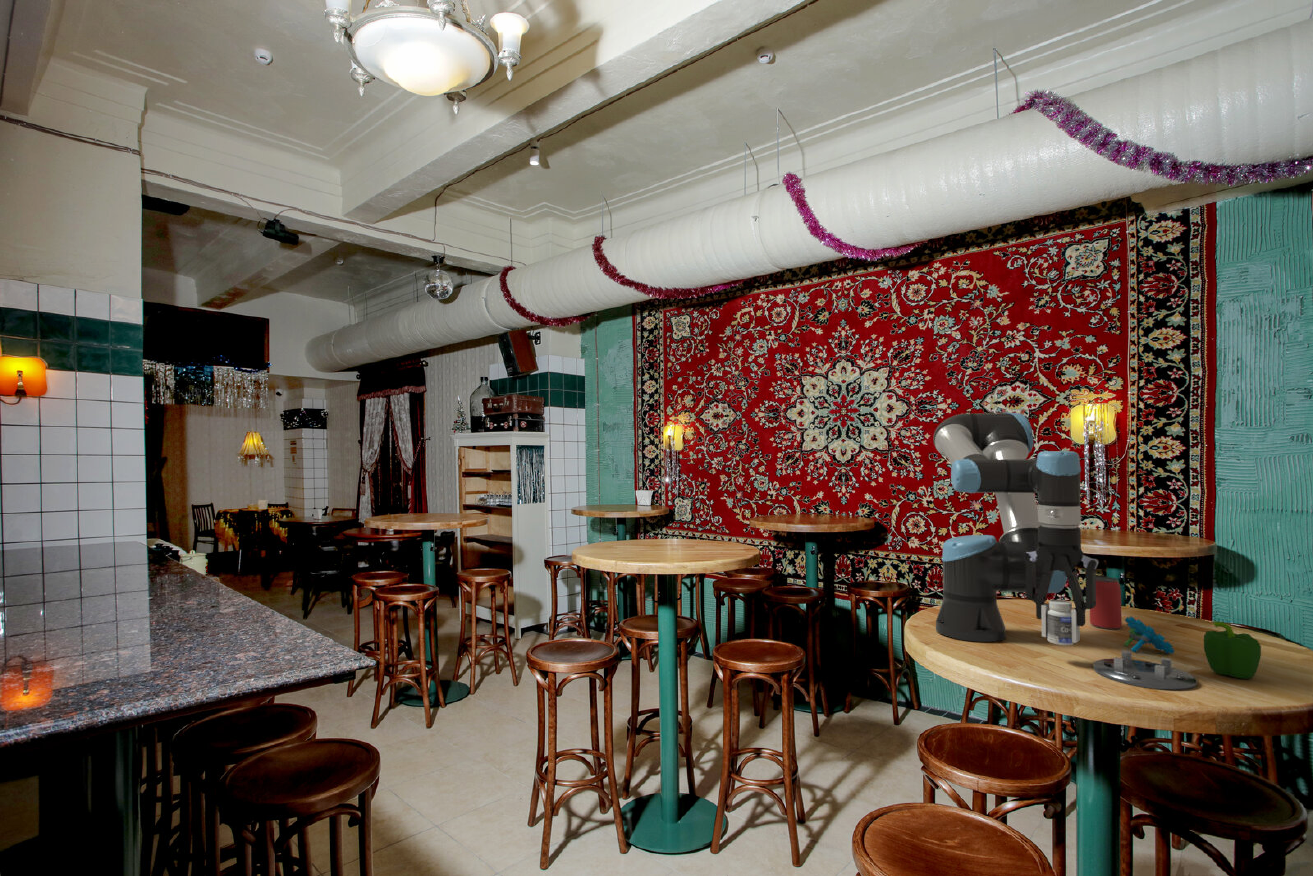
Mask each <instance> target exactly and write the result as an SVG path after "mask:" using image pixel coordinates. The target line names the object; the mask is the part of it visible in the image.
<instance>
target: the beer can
mask: <svg viewBox="0 0 1313 876" xmlns="http://www.w3.org/2000/svg"><path fill="white" fill-rule="evenodd" d="M1122 623H1123V622H1122V588H1121V585H1120V583H1119V579H1118V578H1115V577H1111V576H1110V577H1109V576H1101V575H1100V576H1099V575H1098V576H1096V606H1095V607H1094V608H1092V609H1089V624H1091V626H1092V627H1096V628H1100V629H1104V630H1119V629H1121V628H1122V627H1123V626H1122Z"/></svg>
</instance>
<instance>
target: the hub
mask: <svg viewBox="0 0 1313 876" xmlns="http://www.w3.org/2000/svg"><path fill="white" fill-rule="evenodd" d="M1120 654H1121V657H1117V656H1116V657H1114V658H1102V659H1099V660H1095V661H1094V662H1093V667H1092V668H1093V670H1094V672H1095V673H1097V674H1098V675H1100V676H1101V677H1104V678H1106V679H1108V680H1112V681H1115V682H1118V683H1122V684H1124V685H1129V686H1135V687H1139V688H1144V689H1145V688H1146V689H1151V690H1152V689H1153V690H1161V691H1162V690H1163V691H1187V690H1191V689H1194V688H1196V687H1197V684H1198V683H1197V677H1195V676H1194V675H1193V674H1191V673H1189V672H1186V671H1184V670H1182V669H1178V668H1177V667H1174V666H1173V665H1172V663H1173V662H1172V660H1173V659H1172V658H1167V657H1161V658H1160V659H1161V660H1160V661H1161V662H1160V663H1157V662H1151V661H1145V660H1137V659H1132V651H1128V650H1121V653H1120Z"/></svg>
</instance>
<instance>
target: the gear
mask: <svg viewBox="0 0 1313 876" xmlns="http://www.w3.org/2000/svg"><path fill="white" fill-rule="evenodd" d="M1124 621H1125V623H1126V624H1127V627H1129V628H1130V629H1129V630H1128V633H1130V634H1129V635H1128V637H1129V638H1128V639H1127V640H1126V641H1125V642H1124V643H1123V644H1122V645H1123V646H1124V647H1126V648H1127V647H1129V645H1130V644H1131V643H1132V642H1133V641H1135V642H1137V643H1135V644H1134V645H1133V646H1132V647H1131V648H1130V650H1131V652H1133V653H1137V652H1138V651H1139V650H1140V649H1141V648H1142V646H1144V645H1145V644H1147V645H1148V644H1149V645H1153V646H1154V648H1155V649H1157V650H1159V651H1162V652H1163V653H1165V654H1166V655H1169V654H1171V655H1172V654H1174V653H1175V652H1176V651H1175V648H1173V645H1172V644H1171V643H1169V642H1168V641H1165V640H1166V637H1164V636H1163V635H1162V634H1160V633H1158V634H1157V633H1156V632H1155V629H1154V628H1153V627H1151V626H1150V625H1146V624H1145V623H1144V622H1143V621H1142V620H1140V619H1135V618H1134V617H1133V616H1130V617H1129V616H1127V617H1126V618H1125V619H1124Z"/></svg>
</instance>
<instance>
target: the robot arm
mask: <svg viewBox="0 0 1313 876" xmlns="http://www.w3.org/2000/svg"><path fill="white" fill-rule="evenodd" d="M932 437H933V445H934V447H935V449H936V451H938V453H940V455H942V456H943V457H944V458H947V459H948V461H949V463H950V464H951V469H950V470H951V471H950V477H951V485H952V488H953V490H955V492H958V493H968V494H977V493H978V494H980V493H982V494H983V493H984V494H986V493H987V494H989V493H991V494H993V493H994V494H995V497H996V503H997V508H998V511H999V517H1000V520H1001V525H1002V530H1003V534H1002V535H1001V536H1000V538H999V539H998V541H997V539H996V537H995V536H994V535H991V534H990V535H989V534H972V535H962V536H956V537H955V536H954V537H952V538H948V539H947V540H945V541H944V543H943V544H942V555H941V561H942V593H943V595H942V602H941V605H940V609H939V611H938V614H937V617H936V620H935V630H936V632H937V633H938V632H939V633H938V634H940V633H941V634H940V635H942V634H943V635H942V636H944V635H945V637H947V636H950V637H949V638H951V637H952V639H955V638H956V639H955V640H961V641H969V642H979V643H990V642H991V643H992V642H999V641H1003V640H1005V639H1006V637H1007V635H1006V632H1007V631H1006V629H1007V628H1006V625H1005V623H1004V620H1003V618H1002V615H1001V611H1000V609H999V606H998V603H997V597H998V596H997V594H998V593H997V592H1009V593H1010V592H1011V593H1013V592H1014V593H1025V598H1026V600H1028V601H1032V602H1034V603H1035V610H1036V611H1035V617H1036V619H1037V620H1041V637H1043V638H1047V611H1048V610H1049V609H1050V608H1049V602H1048V603H1047V602H1046V601H1047V596H1048V594H1057V593H1060V592H1061V591H1063V590H1064V588H1065V586H1066V584H1067V583H1068V585H1069V588H1070V589H1069V590H1070V592H1071V597H1072V600H1073V603H1074V606H1075V607H1073V608H1072V610H1071V616H1072V642H1073V643H1074V644H1076V643H1078V642H1079V641H1080V639H1081V638H1080V635H1081V631H1080V630H1081V629H1080V628H1081V627H1084V626H1085V624H1086V611H1087V610H1090V609H1092V608H1094V607H1095V606H1096V574H1097V573H1096V570H1097V568H1098V565H1099V564H1100V560H1099V559H1097V558H1091V557H1089V556H1086V555H1085V554H1084V552H1083V549H1082V529H1081V528H1080V527H1079V526H1080V525H1081V524H1082V521H1081V517H1082V516H1081V471H1082V467H1081V462H1080V455H1079V453H1077V452H1075V451H1067V450H1064V451H1063V450H1062V451H1061V450H1058V451H1055V450H1054V451H1053V450H1051V451H1050V450H1049V451H1048V450H1046V451H1044V450H1043V451H1040V452H1039V453H1038V454H1037V457H1036V458H1031V459H1027V458H1028V456H1029V454H1030V453H1031V452H1032V449H1033V446H1034V436H1033V429H1032V425H1031V423H1030V422H1029V419H1028V418H1027V417H1026V415H1025V414H1023V413H1019V412H1009V411H1006V412H1005V411H1004V412H1001V413H1000V412H996V413H995V412H993V413H990V412H989V413H987V412H986V413H979V412H978V413H976V412H975V413H967V412H966V413H959V414H955V415H953V416H951V417H950V416H949V417H948V418H946V419H945V420H943V421H942V422H940V424H939V425H938V426H937V427H936V428H935V430H934V432H933V436H932ZM1035 494H1037V501H1036V497H1035ZM1081 562H1082V563H1083V567H1084V568H1085V598H1084V595H1083V592H1082V589H1081V585H1080V581H1079V578H1078V572H1077V568H1076V567H1077V566H1078V565H1079V564H1080V563H1081Z"/></svg>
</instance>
